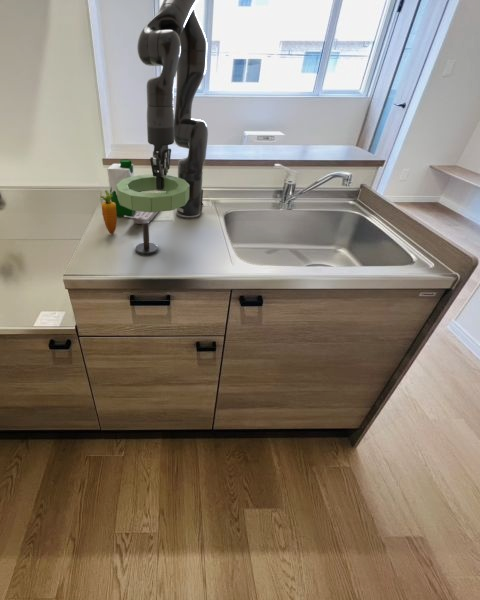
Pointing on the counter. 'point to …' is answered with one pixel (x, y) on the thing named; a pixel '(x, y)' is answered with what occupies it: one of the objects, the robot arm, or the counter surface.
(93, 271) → the counter surface
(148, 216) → the mobile phone
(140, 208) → the ring
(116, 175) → the milk carton
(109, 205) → the carrot
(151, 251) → the peg stand
